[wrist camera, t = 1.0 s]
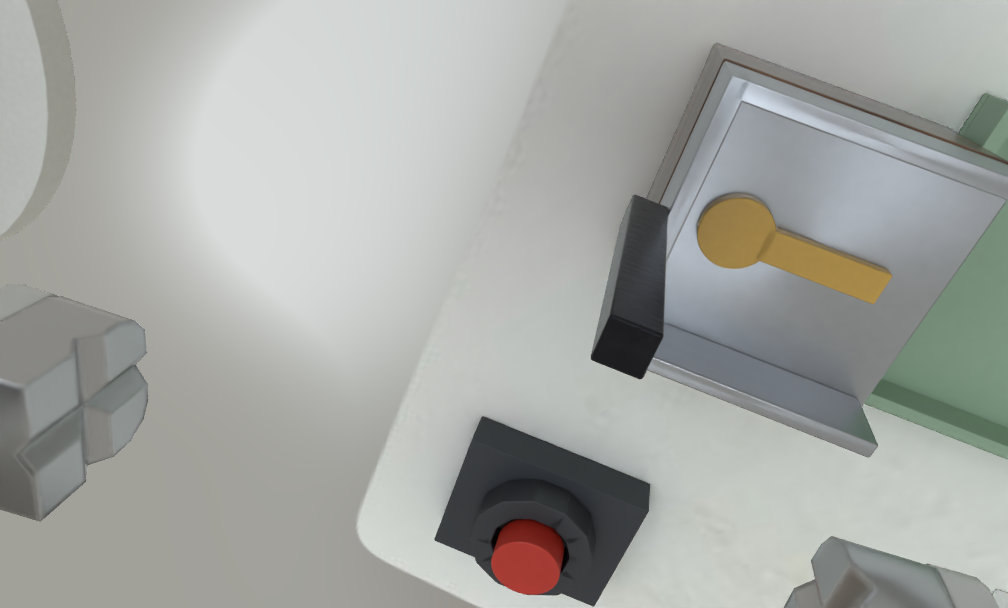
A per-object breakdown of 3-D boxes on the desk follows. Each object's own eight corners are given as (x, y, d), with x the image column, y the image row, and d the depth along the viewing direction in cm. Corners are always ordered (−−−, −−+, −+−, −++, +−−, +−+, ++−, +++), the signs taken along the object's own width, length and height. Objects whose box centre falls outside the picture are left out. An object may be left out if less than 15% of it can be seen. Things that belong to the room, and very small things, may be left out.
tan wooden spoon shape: (684, 247, 25) (684, 253, 25) (716, 181, 24) (717, 186, 24) (859, 314, 25) (863, 322, 24) (900, 251, 24) (905, 257, 23)
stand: (622, 253, 33) (612, 305, 28) (714, 42, 29) (724, 57, 23) (822, 330, 33) (850, 398, 28) (949, 127, 28) (1013, 163, 23)
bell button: (490, 553, 39) (482, 578, 37) (510, 508, 37) (502, 531, 35) (551, 579, 38) (545, 604, 37) (574, 534, 37) (569, 559, 35)
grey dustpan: (583, 298, 28) (524, 502, 17) (689, 47, 23) (701, 111, 12) (854, 405, 27) (970, 686, 16) (1019, 168, 22) (1330, 346, 12)
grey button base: (444, 514, 43) (424, 563, 39) (482, 416, 39) (463, 459, 36) (597, 578, 42) (590, 633, 39) (650, 484, 39) (648, 535, 35)
